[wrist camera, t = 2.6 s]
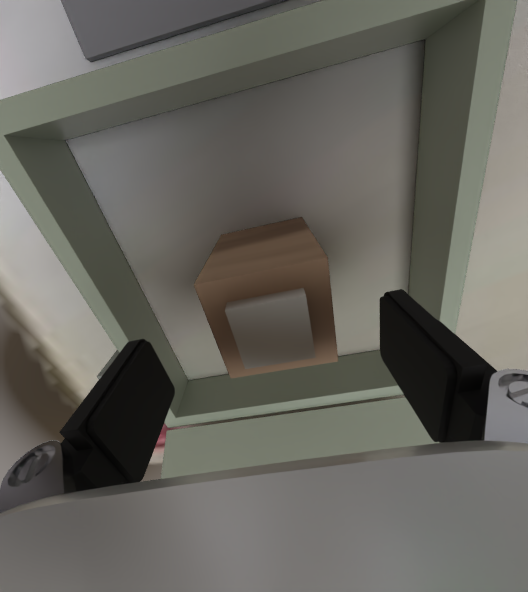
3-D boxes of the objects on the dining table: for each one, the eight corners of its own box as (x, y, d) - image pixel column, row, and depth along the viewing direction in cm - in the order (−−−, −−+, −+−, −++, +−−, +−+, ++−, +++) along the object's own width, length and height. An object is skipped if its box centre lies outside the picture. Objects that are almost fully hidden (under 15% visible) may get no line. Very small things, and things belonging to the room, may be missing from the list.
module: (221, 234, 16) (189, 292, 9) (301, 216, 15) (331, 263, 8) (242, 302, 18) (229, 388, 11) (311, 289, 17) (341, 371, 11)
